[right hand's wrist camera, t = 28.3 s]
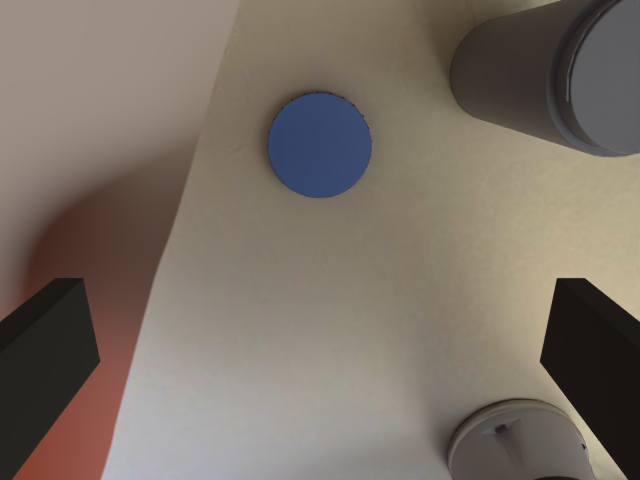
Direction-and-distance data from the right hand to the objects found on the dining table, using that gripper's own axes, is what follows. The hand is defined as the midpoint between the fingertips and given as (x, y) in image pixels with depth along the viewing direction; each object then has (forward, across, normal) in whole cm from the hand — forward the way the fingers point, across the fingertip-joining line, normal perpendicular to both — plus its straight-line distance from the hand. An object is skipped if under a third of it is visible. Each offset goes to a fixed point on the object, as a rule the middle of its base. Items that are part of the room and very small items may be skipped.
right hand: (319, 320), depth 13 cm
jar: (+30, +15, +6) cm, 34 cm away
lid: (+28, 0, 0) cm, 28 cm away
